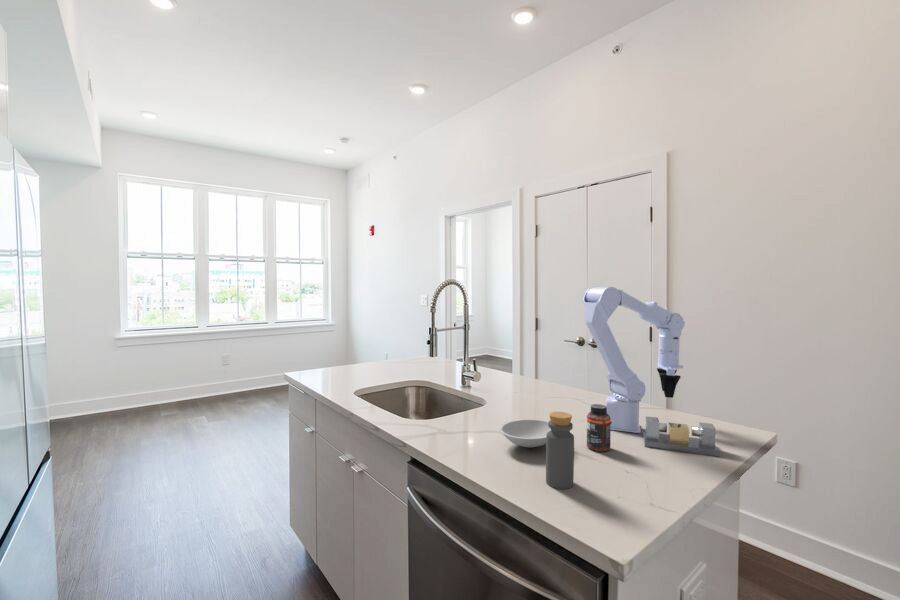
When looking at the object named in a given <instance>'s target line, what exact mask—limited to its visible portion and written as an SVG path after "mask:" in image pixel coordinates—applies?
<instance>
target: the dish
mask: <svg viewBox="0 0 900 600" xmlns="http://www.w3.org/2000/svg"><path fill="white" fill-rule="evenodd" d="M549 421H550V420H544V419H535V418H525V419H524V418H522V419H521V418H520V419H515V420H510V421H507V422H505V423H503V424H501V425H500V426H499V429H498V431H499V432H500V434H501V435H503V436H504V437H505V438H506V439H507V440H508V441H509V442H511V443H512V444H514V445H517V446H519V447H523V448H530V449H532V448H536V447H541V446H544V445H546V436H547V433H548V432H549V431H551V428H549V426H548V422H549Z"/></svg>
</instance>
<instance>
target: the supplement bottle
mask: <svg viewBox="0 0 900 600" xmlns="http://www.w3.org/2000/svg"><path fill="white" fill-rule="evenodd" d="M606 406H607V405H604V404H601V403H600V404H599V403H594V404H593V403H592V404H591V405H590V411H589V412H588V413H587V415H586V447H587V448H588V449H589V450H591V451H594V452H599V453H600V452H602V453H603V452H608V451H610V449H611V430H610V427H611V422H610V421H611V419H610V416H609V415H608V414H607V407H606Z"/></svg>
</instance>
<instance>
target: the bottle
mask: <svg viewBox="0 0 900 600" xmlns="http://www.w3.org/2000/svg"><path fill="white" fill-rule="evenodd" d="M572 417H573V416H572V414H570V413H569V412H564V411H551V412H550V413H549V419H550V420H548V421H549V422H548V426H549V428H551V431H549V432H548V433H547V436H546V444H545V449H546V450H545V483H546V484H547V485H548V486H549V487H552V488H555V489H560V490H567V489H568V490H569V489H570V488H572V487H573V486H574V475H575V474H574V473H575V472H574V471H575V468H574V467H575V436H574V434H573V433H572V432H571V431H572V430H573V429H574V428H573V427H574V425H573V423H572Z"/></svg>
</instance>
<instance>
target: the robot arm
mask: <svg viewBox="0 0 900 600" xmlns="http://www.w3.org/2000/svg"><path fill="white" fill-rule="evenodd" d="M582 303H583V305H584V313H585V314H584V315H585V323H586V326H587V328H588V331H589V332H590V335H591V336H592V339H593V340H594V343H595V344H596V345H595V346H596V347H597V349H598V351H599V353H600V355H601V358H602V359H603V362H604V363H605V366H606V368H607V370H608V373H607V375H606V378H607V380H608V388H609V390H610V392H611V393H612V396H607V397H606V405H605V406H606V407H607V414H608V415H609V416H610V419H611V421H610V422H611V427H610V431H619V432H628V433H635V434H641V432H642V431H641V424H640V402H641V401H642V399H643V398H644V397H645V395H646V391H647V390H646V385H645V383H644V382H643V381H642V380H641V379H640V378H639V377H638V375H637V373H636V372H634V370H632V369H631V368H629V366H628V364H627V362H626V360H625V357H624V355H623V353H622V351H621V350H620V347H619V345H618V343H617V340H616V339H615V336H614V334H613V332H612V330H611V328H610V325H609V324H608V320H609V319H610V318H611V317H612V315H613V314H614V312H615V311H616V310H617V308H618V307H619V306H620V307H623V308H625V309H629V310H631V311H634V312H635V313H638V315H639V318H640V319H642V320H643V321H646V322H648V323H650V324H652V325H654V326H655V328H656V329H657V330H658V349H657V350H658V354H657V368H656V371H657V372H658V375H659V380H660V386H661V390H662V392H663V394H664V397H665V398H671V399H672V398H674V395H675V393H676V388H677V385H678V382H679V381H680V380H681V378H682V377H681V375H676V373H677V371H678V369H684V366H683V365H682V364H680V337H681V335H682V330H683V329H684V327H685V325H686V322H685V321H684V318H683V317H682V315H681V314H680V313H679V312H672V311H670V309H669V308H667V307H662V306H660V305H658V302H657V301H647V302H643V301H641V300H640V299H638V298H636V297H633V295H630V294H628V293H626V292H624V290H623V289H618V288H617V287H615V286H609V287H605V286H603V287H601V286H599V287H598V286H590V287H589V288H587V290H586V291H585V293H584V295H583V298H582Z"/></svg>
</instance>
